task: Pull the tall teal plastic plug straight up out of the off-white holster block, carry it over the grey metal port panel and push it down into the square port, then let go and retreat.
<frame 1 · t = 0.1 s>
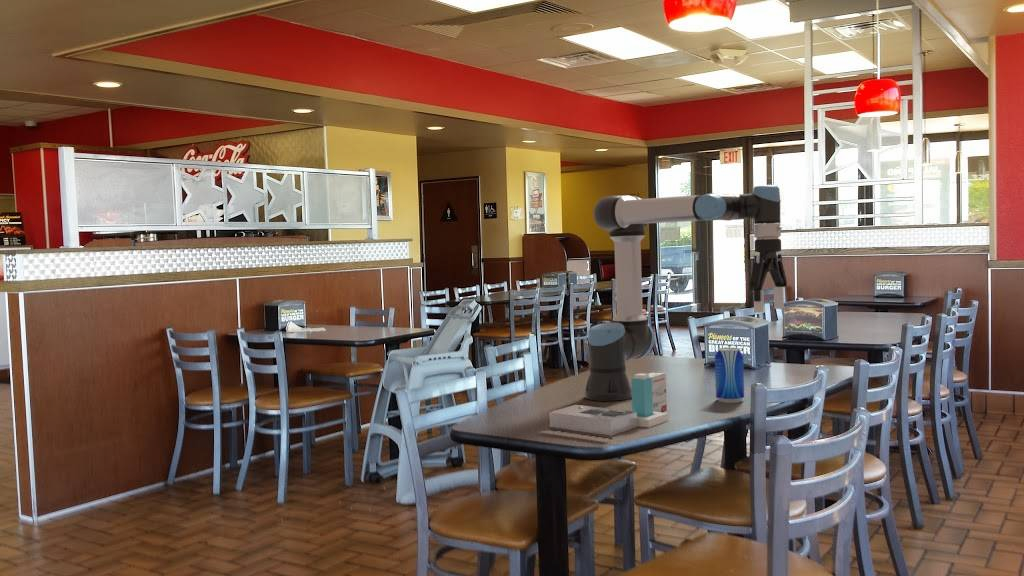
hand: (769, 310, 256), 28 cm above the table, fingers open, 13 cm apart
ink box: (652, 415, 250), on the table
plug: (642, 421, 237), point 1 cm above the table, touching holster
beer can: (730, 401, 266), on the table
holster: (643, 425, 237), on the table
port panel: (593, 430, 233), on the table
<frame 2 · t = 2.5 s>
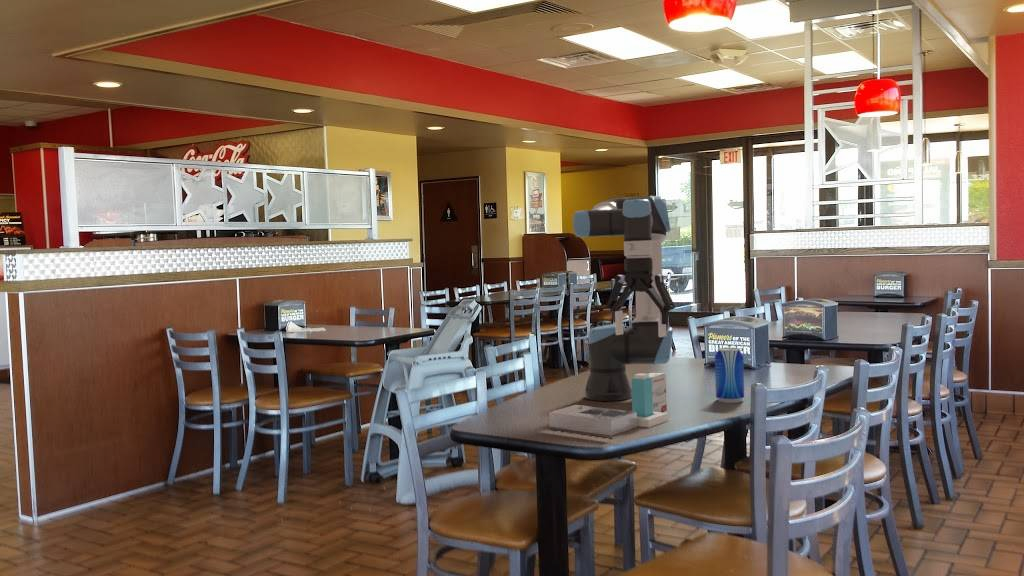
hand: (640, 335, 235), 25 cm above the table, fingers open, 13 cm apart
nothing on the table moved.
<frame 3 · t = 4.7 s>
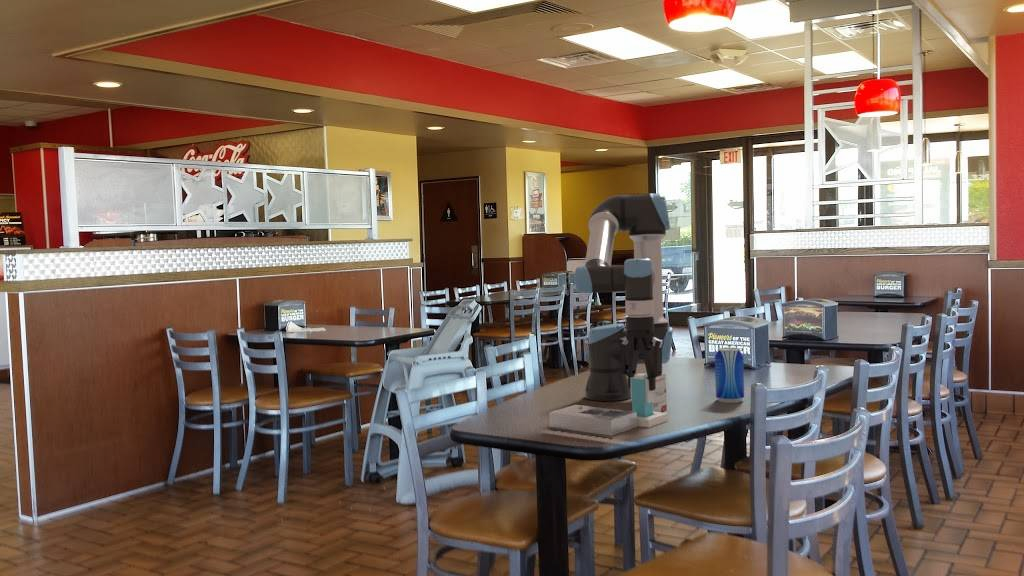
hand: (642, 401, 236), 7 cm above the table, fingers closed on plug, 4 cm apart
plug: (642, 421, 237), point 1 cm above the table, touching gripper, holster
everything else where it was.
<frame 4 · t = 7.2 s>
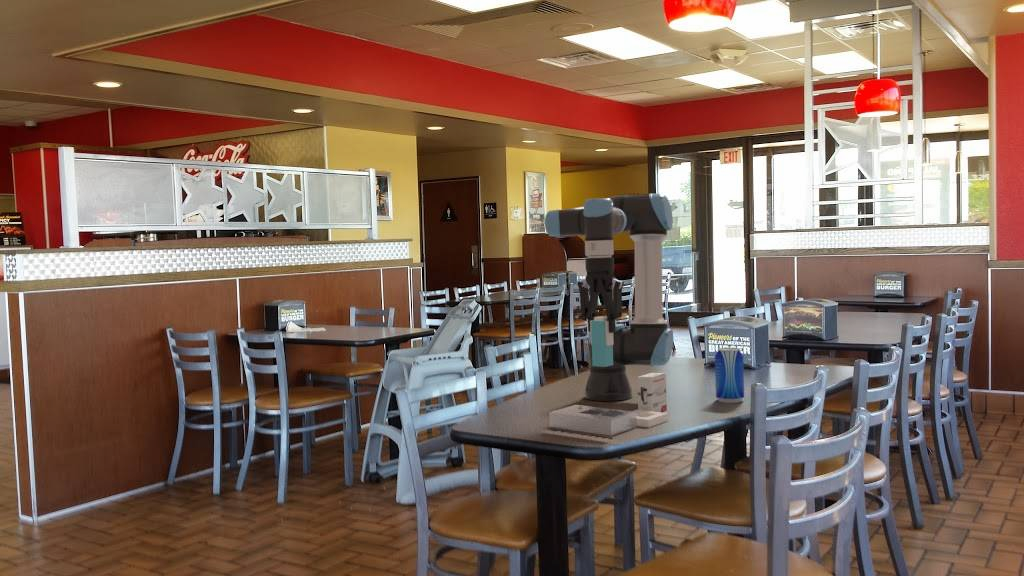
hand: (602, 344, 232), 23 cm above the table, fingers closed on plug, 4 cm apart
plug: (602, 365, 232), point 17 cm above the table, touching gripper
everything else where it was.
when the fingers open (8 cm above the table, at t = 9.7 s): plug stays where it is, resting on port panel.
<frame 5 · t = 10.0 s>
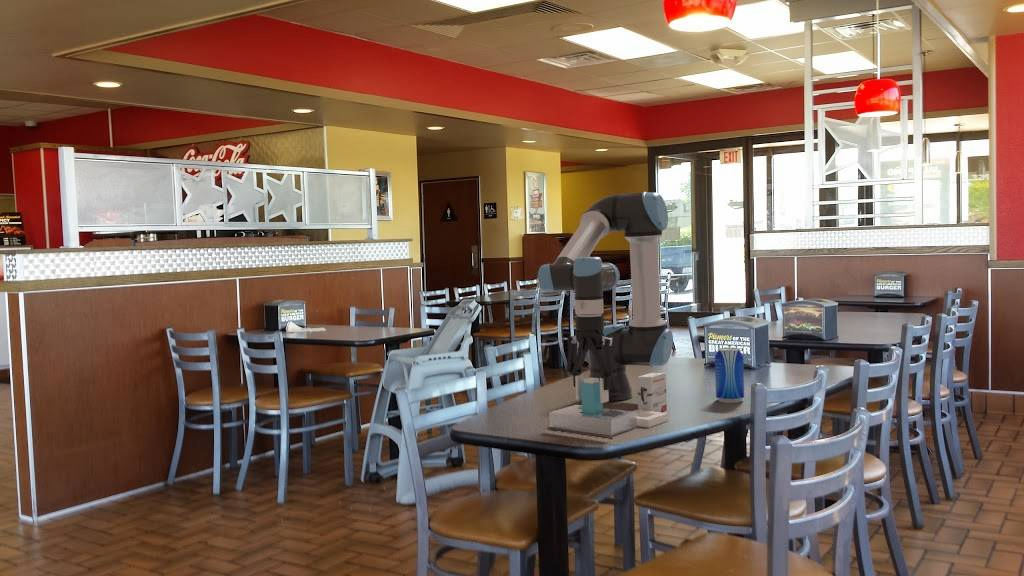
hand: (592, 400, 232), 8 cm above the table, fingers open, 7 cm apart
plug: (593, 426, 233), point 1 cm above the table, touching port panel
everything else where it was.
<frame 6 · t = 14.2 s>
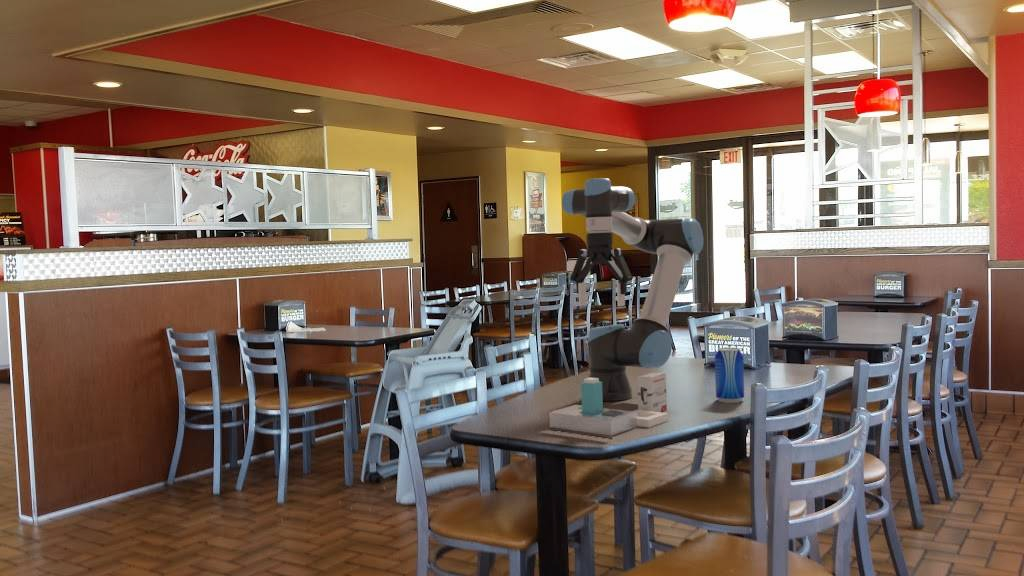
hand: (601, 305, 253), 32 cm above the table, fingers open, 13 cm apart
nothing on the table moved.
at the end: plug 0.0 cm off-centre on the port panel, point 1.0 cm above the port panel's base; plug tilted 0°; the gripper is holding nothing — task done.
